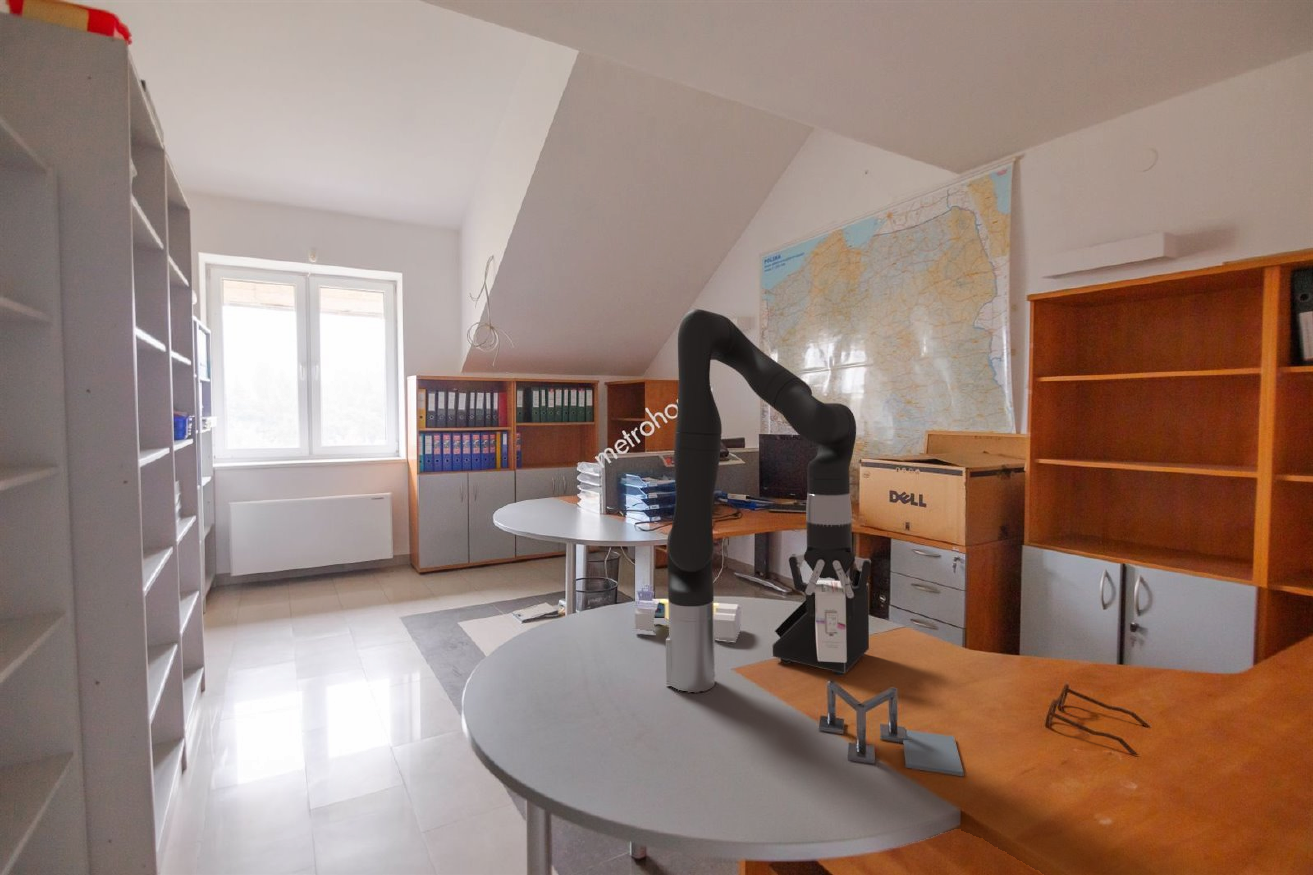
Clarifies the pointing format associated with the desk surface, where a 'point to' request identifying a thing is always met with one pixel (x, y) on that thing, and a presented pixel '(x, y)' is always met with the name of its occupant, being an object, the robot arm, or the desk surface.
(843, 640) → the ink cartridge box
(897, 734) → the grey metal legged frame
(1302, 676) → the desk surface
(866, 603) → the voltmeter
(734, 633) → the diorama
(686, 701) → the desk surface
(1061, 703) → the glasses
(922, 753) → the pad
